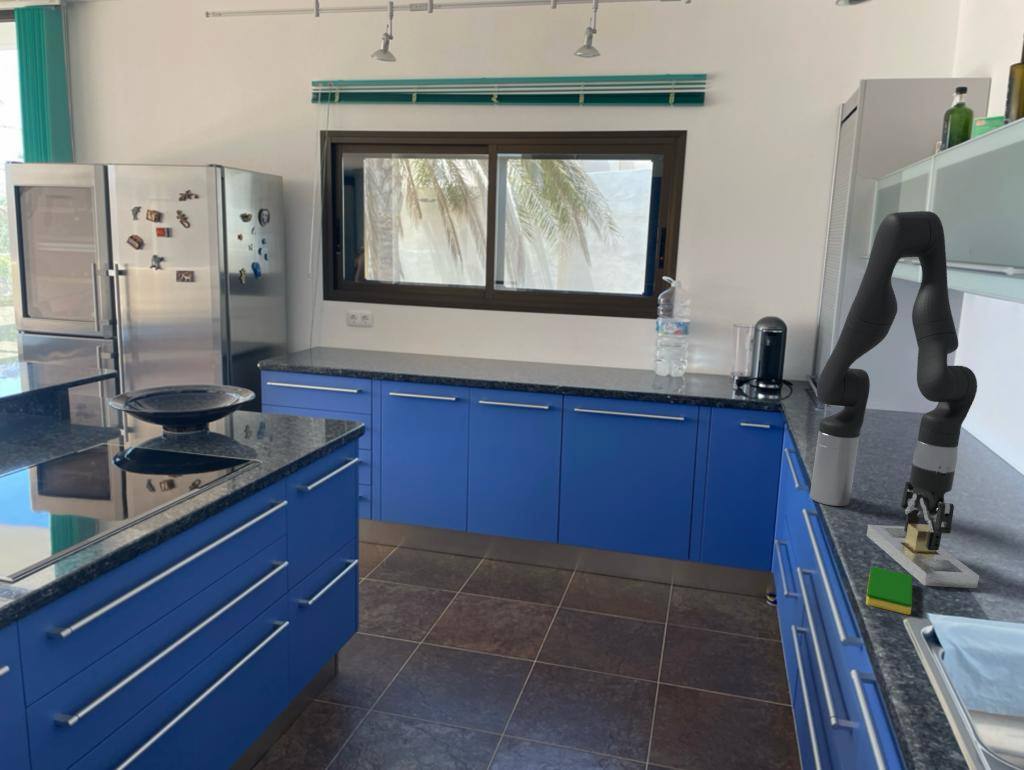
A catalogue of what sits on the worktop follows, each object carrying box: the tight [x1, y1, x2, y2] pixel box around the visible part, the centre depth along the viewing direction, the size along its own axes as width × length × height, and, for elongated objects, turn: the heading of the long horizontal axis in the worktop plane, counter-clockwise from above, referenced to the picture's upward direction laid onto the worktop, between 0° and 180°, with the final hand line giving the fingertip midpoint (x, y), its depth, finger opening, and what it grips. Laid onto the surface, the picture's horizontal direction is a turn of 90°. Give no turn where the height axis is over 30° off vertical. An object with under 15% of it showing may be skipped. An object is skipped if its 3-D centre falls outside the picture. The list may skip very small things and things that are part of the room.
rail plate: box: [866, 524, 980, 589], centre depth 155 cm, size 24×10×2 cm, turn 0°
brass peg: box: [905, 523, 935, 554], centre depth 154 cm, size 4×4×7 cm
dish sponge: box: [865, 566, 913, 616], centre depth 139 cm, size 7×14×2 cm, turn 153°
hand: (920, 541), depth 154 cm, fingers open, 8 cm apart
